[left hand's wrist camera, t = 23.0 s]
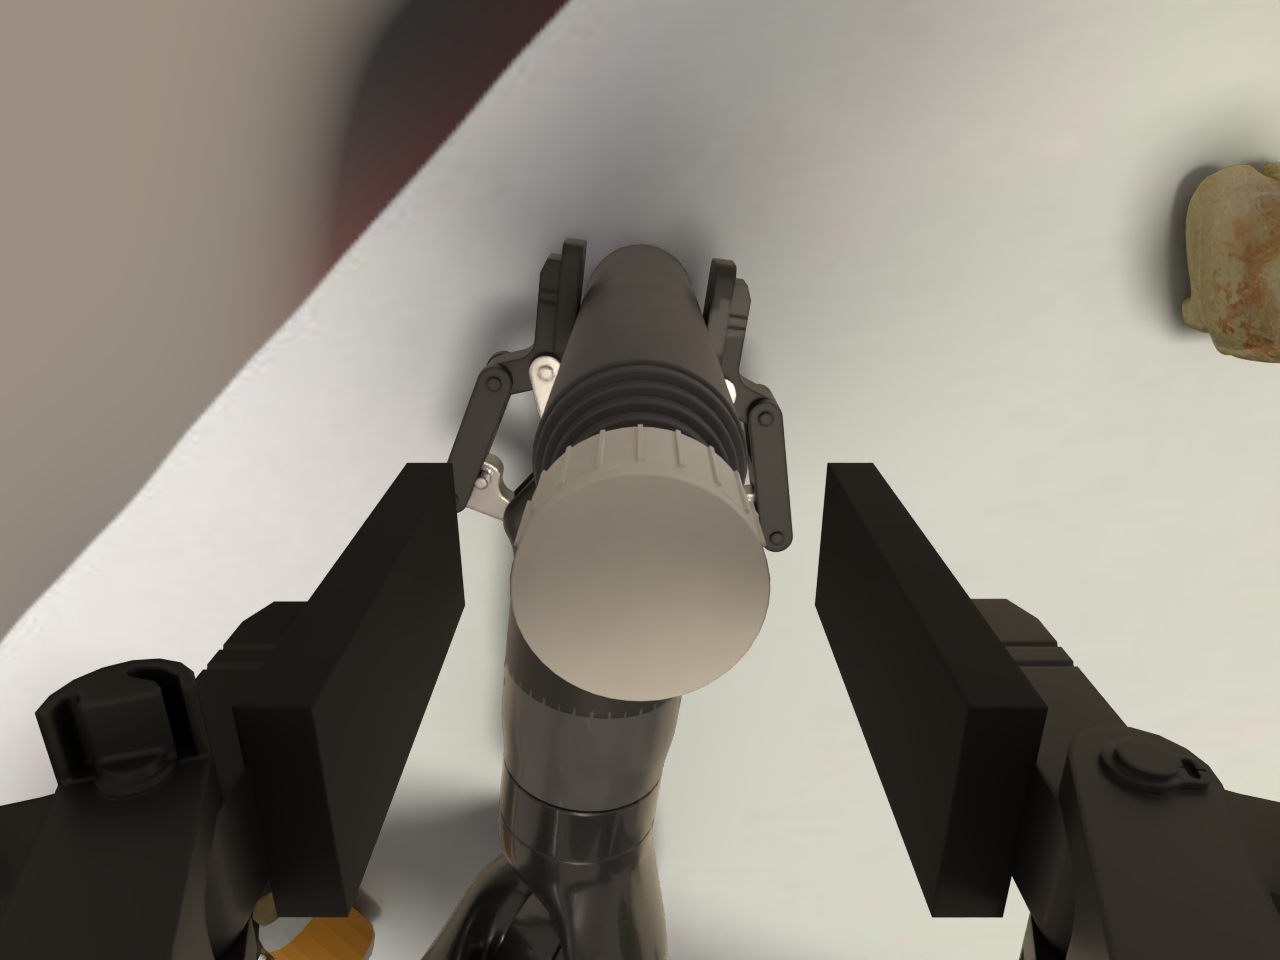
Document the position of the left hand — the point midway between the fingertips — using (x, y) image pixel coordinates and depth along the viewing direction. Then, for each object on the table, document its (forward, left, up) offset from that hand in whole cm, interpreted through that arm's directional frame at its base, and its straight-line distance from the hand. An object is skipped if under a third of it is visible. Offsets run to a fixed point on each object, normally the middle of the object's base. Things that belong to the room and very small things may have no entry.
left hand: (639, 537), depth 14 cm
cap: (0, 0, +2) cm, 2 cm away
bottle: (0, 0, -23) cm, 23 cm away
